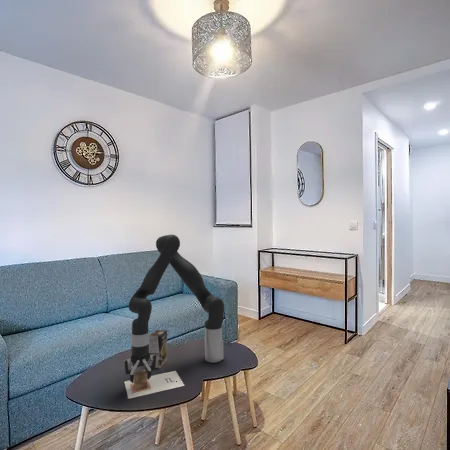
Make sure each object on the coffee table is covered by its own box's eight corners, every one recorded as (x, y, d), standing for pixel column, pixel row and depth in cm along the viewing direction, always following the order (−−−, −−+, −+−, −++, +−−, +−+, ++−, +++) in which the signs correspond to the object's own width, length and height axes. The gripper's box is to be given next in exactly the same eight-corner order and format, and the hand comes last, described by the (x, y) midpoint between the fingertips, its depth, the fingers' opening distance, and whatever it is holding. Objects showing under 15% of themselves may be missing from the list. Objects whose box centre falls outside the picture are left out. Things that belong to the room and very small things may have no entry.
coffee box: (160, 368, 150) (160, 336, 150) (148, 367, 151) (148, 335, 151) (167, 360, 159) (167, 330, 159) (156, 359, 160) (156, 329, 160)
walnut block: (145, 382, 136) (145, 369, 136) (147, 387, 132) (147, 374, 132) (134, 384, 134) (134, 371, 134) (135, 390, 130) (135, 376, 130)
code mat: (175, 371, 147) (175, 370, 147) (184, 386, 134) (184, 385, 134) (124, 382, 137) (124, 381, 137) (128, 399, 124) (128, 398, 124)
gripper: (154, 337, 139) (155, 373, 139) (122, 342, 133) (122, 380, 133) (158, 343, 132) (158, 380, 132) (124, 348, 126) (124, 388, 126)
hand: (140, 380), depth 133 cm, fingers open, 6 cm apart
